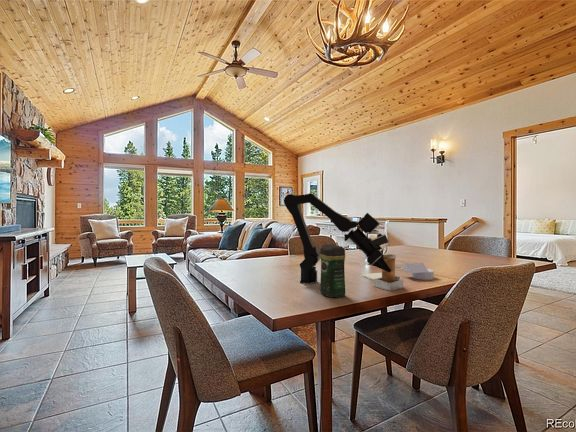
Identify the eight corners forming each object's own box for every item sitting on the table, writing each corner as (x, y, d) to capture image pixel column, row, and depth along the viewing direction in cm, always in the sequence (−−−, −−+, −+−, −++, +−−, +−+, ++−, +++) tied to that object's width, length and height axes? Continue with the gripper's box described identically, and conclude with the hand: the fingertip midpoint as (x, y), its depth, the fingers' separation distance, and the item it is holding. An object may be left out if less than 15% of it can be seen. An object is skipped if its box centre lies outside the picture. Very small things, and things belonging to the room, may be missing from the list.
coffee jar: (349, 296, 108) (349, 245, 108) (330, 299, 105) (330, 247, 104) (334, 289, 117) (334, 242, 116) (317, 292, 114) (316, 243, 113)
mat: (375, 281, 130) (375, 279, 130) (361, 275, 140) (361, 274, 140) (396, 279, 134) (396, 277, 134) (380, 273, 144) (380, 272, 144)
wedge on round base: (411, 280, 131) (438, 279, 133) (411, 265, 131) (438, 264, 133) (400, 275, 140) (425, 274, 142) (400, 261, 140) (425, 260, 142)
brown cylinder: (381, 288, 119) (381, 255, 118) (380, 284, 124) (380, 253, 124) (396, 289, 117) (396, 256, 117) (394, 285, 123) (395, 254, 122)
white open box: (389, 290, 115) (389, 281, 115) (373, 286, 122) (373, 277, 122) (406, 287, 120) (406, 278, 120) (389, 282, 127) (389, 274, 127)
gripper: (376, 229, 112) (407, 259, 109) (376, 226, 130) (403, 252, 127) (354, 249, 115) (384, 279, 112) (358, 243, 133) (384, 269, 130)
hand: (390, 269), depth 120 cm, fingers open, 9 cm apart
